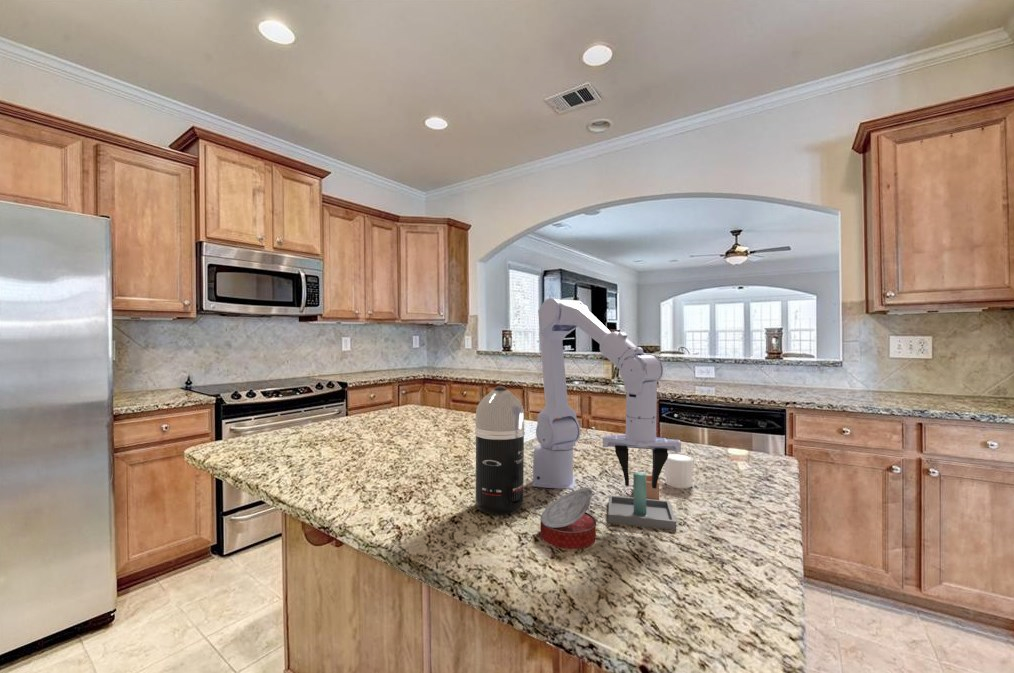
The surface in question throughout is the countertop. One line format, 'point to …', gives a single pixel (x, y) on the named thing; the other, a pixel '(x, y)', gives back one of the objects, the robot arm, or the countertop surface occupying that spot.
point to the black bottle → (499, 453)
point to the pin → (639, 493)
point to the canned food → (569, 521)
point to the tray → (655, 517)
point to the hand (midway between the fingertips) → (640, 485)
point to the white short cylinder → (679, 470)
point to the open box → (651, 492)
